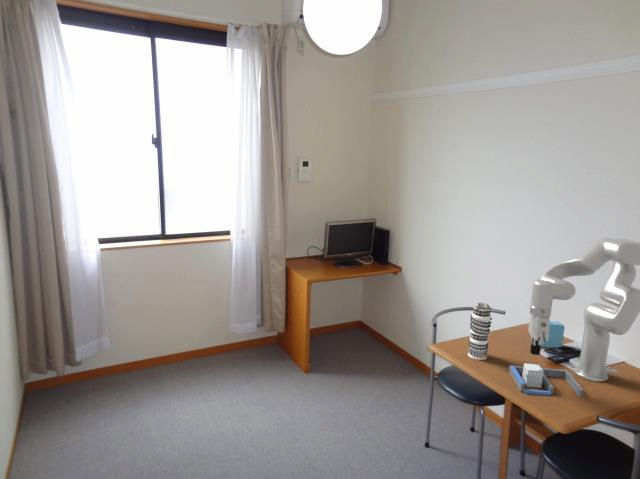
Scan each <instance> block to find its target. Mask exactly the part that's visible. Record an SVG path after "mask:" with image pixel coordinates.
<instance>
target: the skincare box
mask: <svg viewBox="0 0 640 479" xmlns="http://www.w3.org/2000/svg"><path fill="white" fill-rule="evenodd" d="M542 368H543V367H541V366H540V365H539V364H534V363H523V374H521V375H522V376H521V378H522V380H523V381H524V383H525V385H524V386H525V387H531V388H538V389H540V388H542V386H543V384H542V379H543V370H542Z"/></svg>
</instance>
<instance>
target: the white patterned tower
mask: <svg viewBox="0 0 640 479" xmlns="http://www.w3.org/2000/svg"><path fill="white" fill-rule="evenodd" d="M491 311H492V307H490V305H489V304H488V303H485V302H477V303H476V304H474V305H473V306H472V313H471V314H470V323H469V324H470V325H469V329H470V330H469V331H470V336H469V340H468V342H469V343H468V347H467V352H468V353H467V356H468V357H470V358H472V359H474V360H478V361H481V360H482V361H484V360H487V358H488V351H489V350H488V348H489V335H490V332H491V329H490V328H491V327H492V326H491V324H492V321H491V320H493V317H491V316H492V315H491Z"/></svg>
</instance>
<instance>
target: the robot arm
mask: <svg viewBox="0 0 640 479" xmlns="http://www.w3.org/2000/svg"><path fill="white" fill-rule="evenodd" d="M610 261H612V265H613V266H612V269H611V271H610V274H609V275H608V277H607V278H606V280H605V282H604V283H603V285H602V288H601V289H600V290H599V291H600V292H599V297H600V299H601V300H602V301H603V302H605V303H608V304H609V306H608V305H606V304H603V303H599V302H591V303H589V304H588V305H586V306H585V308H584V311H583V323H584V324H583V325H584V328H583V335H582V336H583V337H582V340H581V341H582V342H581V349H580V354H579V362H578V365H576V366H575V367H574V368H573V372H574V374H576V375H577V376H579V378H583V379H586V380H589V381H592V382H605V381H609V380H608V379H609V375H610V374H612V375H617V374H618V369H616V368H615V369H614V368H612V367H611V366H607V365H606V364H607V359H608V355H609V354H608V353H609V346H610V340H611V338H610V337H611V336H610V333H611V334H613V335H616V336H623V335H625V334H627V333H628V331H630V329H631V328H632V326H633V324H634V323H635V321H636V319H637V317H638V316H639V315H640V289H639V288H637V287H634V286H632V285H633V283H634V281H635V279H636V276H637V268H636V266H640V241H635V240H629V239H625V238H624V239H623V238H618V239H615V238H610V237H602V238H601V237H600V238H598V240H596V241H595V242H594V243H593V244H591V245H590V246H589V247H588V248H587V249H585V251H583V252H582V253H581V254H580V255H579V256H577V257H576V258H574V259H570V260H567V261H564V262H561V263H558V264H556V265H554V266H552V267H550V269H548V270H547V271H546V272H544V273H543V275H542V276H540V279H536V280H534V281H533V283H532V290H531V296H530V297H531V298H530V305H529V306H530V308H529V314H530V316H529V322H528V333H529V335H530V336H531V338H530V339H531V341H530V342H531V343H530V350H529V352H530V354H531V355H533V356H540V355H541V348H542V347H541V345H543V339H544V340H545V341H546V342H547V341H548V340H549V327H550V321H551V320H550V317H551V315H552V308H553V307H552V306H553V300H557V301H568V300H571V299H572V298H573V297H574V296H575V295H576V292H577V291H576V287H575V285H574V284H573V283H572V282H570V281H567V280H565V279H566V278H570V277H582V276H591V275H594V274H595V273H596V272H597V271H599V270H600V269H601V268H603V266H605V265H606V264H607V263H609V262H610ZM610 305H613V306H615V307H618V308H614V307H611V306H610ZM578 366H579V367H578Z"/></svg>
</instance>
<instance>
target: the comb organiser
mask: <svg viewBox="0 0 640 479" xmlns="http://www.w3.org/2000/svg"><path fill="white" fill-rule="evenodd" d="M523 367H524V365H523V366H522V365H521V366H520V365H509V368H508V372H509V374H510V375H509V376H511V378H512V379H513V381H514V383H515V386H517V389H518V390H519V392H520V393H521V392H522V393H523V394H531V395H543V396H552V395H554V390H555V389H554V388H555V387H554V385H552V382H551V381H550V380H549V379H548V377H549V376H550V377H551V378H552V377H553V378H561V379H564V380H566V381H565V382H567V383H568V385H569V386H570V387H571V388H572V389H573V391H574V392H575V393H576V394H577V395H578V397H580V398H583V397H584V393H585V390H584V388H583V387H582V386H581V385H580V384H579V382H577V380H576V379H575V378H574V377H573V375H572V374H571V373H570V372H569V370H567V369H559V368H558V369H555V368H547V367H541V368H542V370H543V379H542V386H543V387H544V388H545V390H540V389H530V388H525V386H526V385H525V383H524V381H523V380H522V376H521V375H522V374H523ZM550 377H549V378H550Z"/></svg>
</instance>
